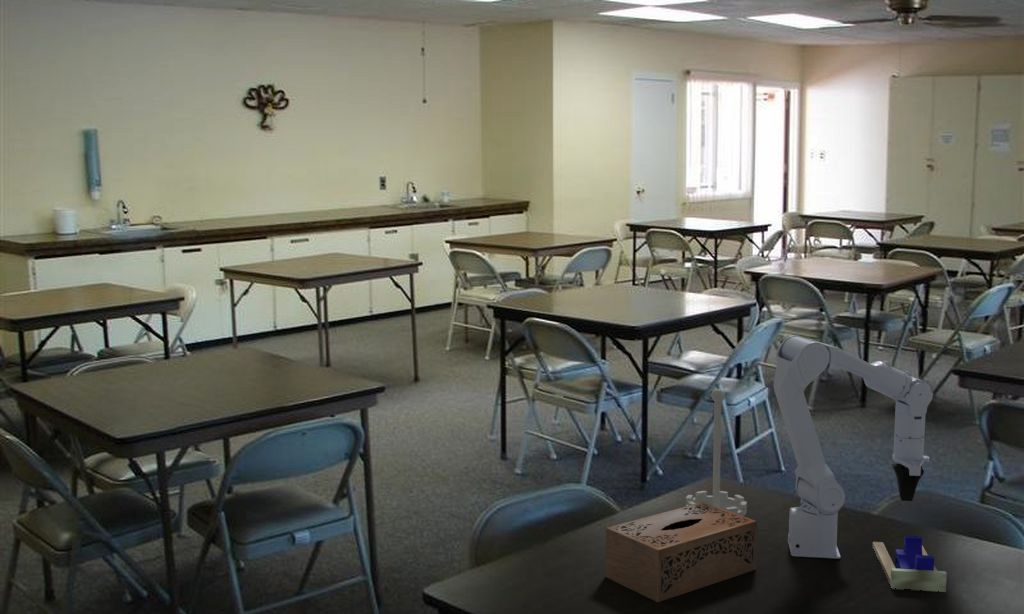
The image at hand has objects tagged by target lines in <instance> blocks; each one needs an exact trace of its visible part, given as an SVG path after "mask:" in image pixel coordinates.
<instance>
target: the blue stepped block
mask: <svg viewBox="0 0 1024 614" xmlns="http://www.w3.org/2000/svg"><path fill="white" fill-rule="evenodd" d="M922 546H923V538H922V536H921V535H914V534H913V535H912V534H911V535H907V534H906V535H904V536H903V549H898V548H897V549H895V555H894V564H895V563H896V564H897V566H896V568H897V567H898V568H897V569H915V570H932V571H934V566H935V558H934V556H933V555H929V554H928V555H923V554H922ZM896 564H895V565H896Z"/></svg>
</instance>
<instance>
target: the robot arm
mask: <svg viewBox="0 0 1024 614" xmlns="http://www.w3.org/2000/svg"><path fill="white" fill-rule="evenodd" d="M775 358H776V368H775V372H774V377H773V378H774V379H773V390H774V394H775V397H776V400H777V403H778V406H779V410H780V413H781V416H782V419H783V422H784V425H785V429H786V431H787V435H788V438H789V441H790V444H791V447H792V451H793V454H794V457H795V460H796V463H797V467H796V468H795V469H794V473H795V478H796V479H795V489H794V490H795V492H796V495H797V496H798V497H799V498H800V506H795V507H790V508H789V514H788V515H789V516H788V517H789V518H788V535H787V544H788V547H789V551H790V555H791V556H792V557H799V558H800V557H803V558H816V559H817V558H820V559H821V558H822V559H838V560H840V559H841V554H840V551H839V548H838V545H837V543H838V541H837V540H838V516H839V515H838V514H839V510H840V509H841V508H842V507H843V506H844V503H845V501H846V494H845V490H844V488H843V487H842V486H841V485H840V484H839V483H838V481H837V479H836V477H835V475H834V473H833V471H832V470H831V469H830V468H829V466H828V465H827V463H826V461H825V460H826V459H825V457H824V454H823V451H822V448H821V444H820V441H819V437H818V434H817V431H816V428H815V425H814V421H813V418H812V415H811V412H810V408H809V406H808V402H807V398H806V396H805V390H806V388H807V387H808V385H810V383H812V382H813V381H814V380H815V379H816V378H817V377H818V376H819V375H820V374H821V373H823V372H824V371H825V370H826V369H827V370H832V369H833V368H834V367H837V368H840V369H841V370H843V371H847V372H849V373H852V375H856V376H859V377H861V378H863V381H864V382H863V383H864V384H865V387H867V388H869V389H870V390H874V391H875V392H878V393H880V394H881V395H884V396H886V397H889V398H891V399H892V400H893V401H895V411H894V412H895V415H894V433H893V434H894V435H893V453H892V457H891V458H892V460H893V461H894V462H896V463H892V464H891V466H892V468H893V471H894V473H895V477H896V480H897V487H898V494H899V498H900V500H901V501H902V502H903V501H904V502H912V501H913V500H914V497H915V493H916V490H917V487H918V484H919V482H920V480H921V478H922V477H923V475H924V474H925V470H924V469H923V464H924V463H925V462H927V463H928V462H930V459H931V458H930V457H929V456H928V455H924V453H925V451H924V449H925V431H926V428H925V427H926V414H927V413H928V412H927V411H928V407H929V405H930V403H931V401H932V400H933V398H934V393H933V392H931V387H930V385H929V384H928V382H926V380H923V379H920V378H917V377H914V376H911V375H912V373H911V372H909V371H907V370H903V371H902V370H900V369H897V368H896V367H893V362H890V361H887V360H882V361H881V360H877V361H873V362H872V363H871V362H870V363H869V362H867V361H865V360H863V359H861V358H859V357H857V356H854V355H853V354H852V353H849V352H847V351H845V350H844V349H841V348H840V347H837V346H834V345H832V344H827V343H825V342H821V341H817V340H814V339H809V338H804V337H803V336H801V335H798V334H792V335H790V336H788V337H786V338H785V339H783V341H782V342H781V343H780V345H779V347H778V348H777V350H776V352H775Z"/></svg>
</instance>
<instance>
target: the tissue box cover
mask: <svg viewBox="0 0 1024 614" xmlns="http://www.w3.org/2000/svg"><path fill="white" fill-rule="evenodd" d="M757 535H758V520H755V519H751V518H749V517H746V516H745V515H744V516H741V515H738V514H736V513H733V512H730V511H727V510H724V509H721V508H719V507H716V506H713V505H710V504H707V503H705V502H700V503H696V504H693V505H689V506H686V505H685V506H683V507H679V508H675V509H670V510H667V511H664V512H660V513H657V514H652V515H648V516H645V517H641V518H637V519H633V520H630V521H626V522H622V523H618V524H614V525H611V526H607V527H605V578H608V579H609V580H611V581H613V582H615V583H617V584H620V585H621V586H623V587H625V588H627V589H629V590H631V591H634V592H636V593H638V594H640V595H641V596H644V597H646V598H648V599H649V600H652V601H654V602H657V603H660V602H663V601H666V600H668V599H669V600H670V599H672V598H674V597H678V596H681V595H684V594H686V593H689V592H693V591H696V590H699V589H702V588H705V587H707V586H711V585H714V584H717V583H721V582H723V581H725V580H729V579H732V578H735V577H738V576H741V575H744V574H746V573H749V572H752V571H756V569H757V541H758V540H757V539H758V538H757V537H758V536H757Z"/></svg>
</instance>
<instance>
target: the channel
mask: <svg viewBox="0 0 1024 614" xmlns="http://www.w3.org/2000/svg"><path fill="white" fill-rule="evenodd" d="M872 549H874V550H873V551H875V552H874V554H875V553H876V554H875V556H876V558H877V561H878V560H879V561H878V562H880V563H879V565H880V564H881V565H880V567H881V566H882V567H881V569H882V571H883V570H884V571H883V574H884V573H885V574H884V576H885V575H886V576H885V578H886V577H887V578H886V580H887V579H888V580H887V582H888V585H889V584H890V585H889V586H891V587H890V589H891V588H892V590H904V589H911V590H910V591H920V590H922V591H923V592H924V591H925V592H938V591H939V593H941V592H942V593H946V592H947V579H948V578H947V577H948V575H947V574H948V573H947V572H946V570H938V569H937V568H936V566H935V565H934V571H932V570H915V569H898V568H897V567H896V565H895V563H894V561H893V560H892V558H891V555H890V554H889V552H888V550H887V547H886V546H885V544H884V542H882V541H872ZM922 554H923V555H929V554H928V553H927V551H926V549H925V548H924V546H923V545H922ZM895 588H896V589H895Z"/></svg>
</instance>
